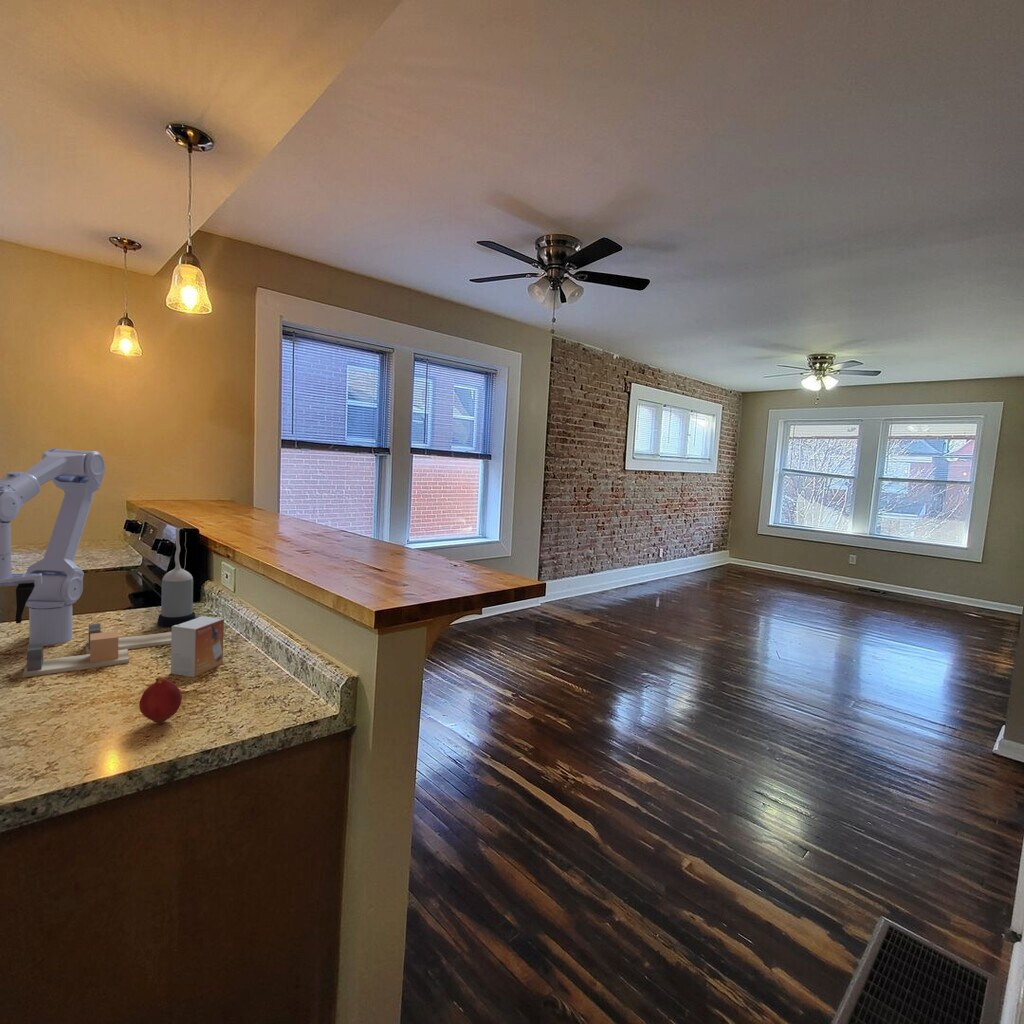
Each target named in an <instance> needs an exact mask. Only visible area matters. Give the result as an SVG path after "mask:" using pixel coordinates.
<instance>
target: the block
mask: <svg viewBox="0 0 1024 1024" xmlns="http://www.w3.org/2000/svg"><path fill="white" fill-rule="evenodd" d="M118 632H119V631H118V630H114V631H113V630H112V631H105V632H101V633H94V634H90V662H98V661H105V660H112V659H118V638H119V633H118Z"/></svg>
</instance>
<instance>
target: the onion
mask: <svg viewBox="0 0 1024 1024" xmlns="http://www.w3.org/2000/svg"><path fill="white" fill-rule="evenodd" d="M182 695H183V694H182V691H181V690H180V688H179V687H178V686H177V685H176V684H175V683H174V682H172V681H171V680H168V679H166V678H165V677H164V676H158V677H157V678H155V682H153V683H151V684H150V685H149V686H148V687H147V688H146V689H145V690H144V691H143V693H142V695H141V697H140V700H139V705H138V707H139V711H140V713H141V715H143V717H145V718H146V719H148V720H151V721H153V722H155V723H156V724H159V725H160V724H163V723H165V722H166V721H168V720H169V719H170V718H171V717H173V716H174V715H175V714H176V713H177V711H178V710H179V709H180V707H181V704H182V700H183V696H182Z"/></svg>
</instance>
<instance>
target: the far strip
mask: <svg viewBox="0 0 1024 1024" xmlns="http://www.w3.org/2000/svg"><path fill="white" fill-rule="evenodd" d="M101 631H102V629H101V622H99V623H90V624H88V641H85V654H90V634H94V633H102V632H101ZM171 634H172V631H167V632H160V633H159V632H158V633H150V634H141V635H134V636H125V637H118V650H124V649H128V650H133V649H141V648H142V649H143V648H147V647H156V646H164V645H171ZM85 654H84V655H85Z"/></svg>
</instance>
